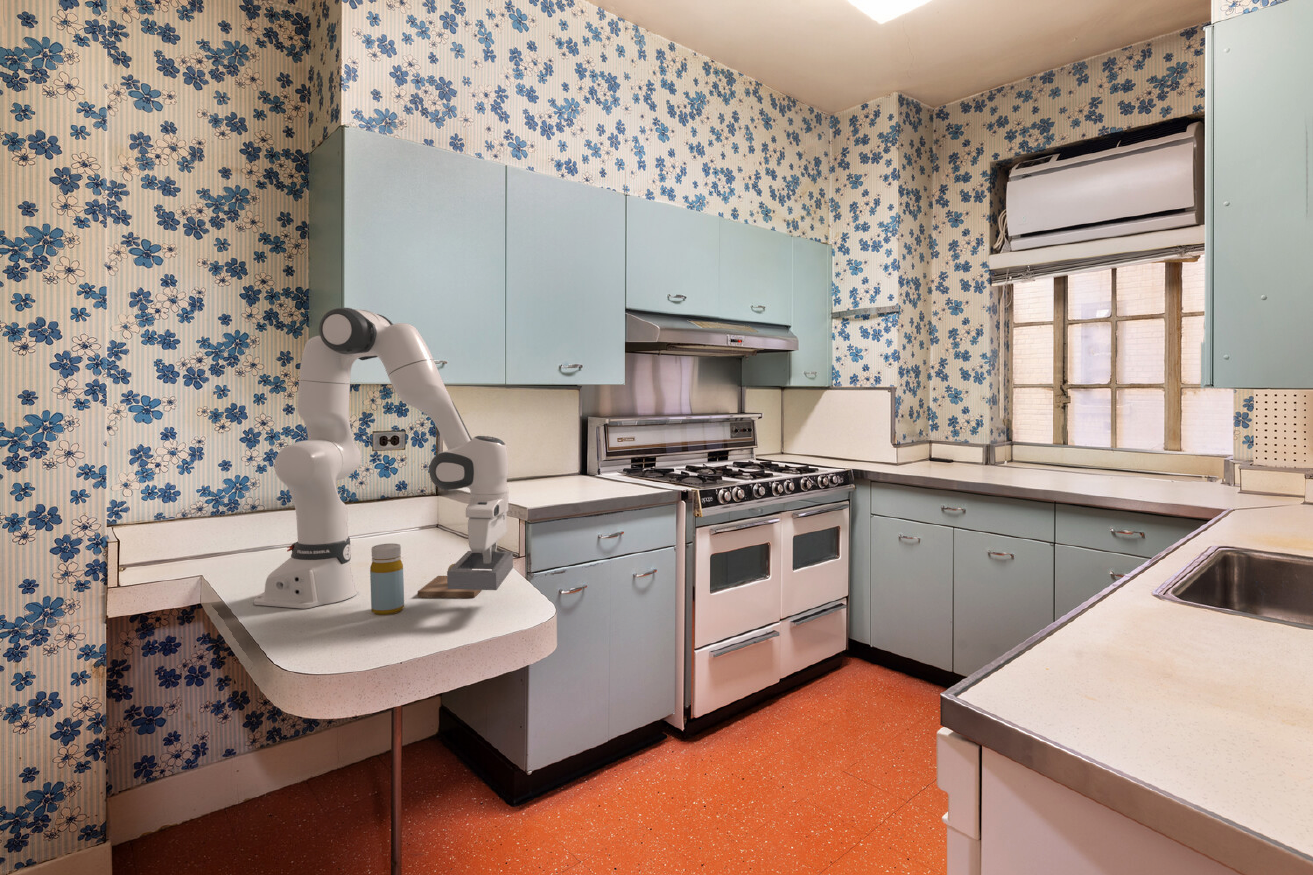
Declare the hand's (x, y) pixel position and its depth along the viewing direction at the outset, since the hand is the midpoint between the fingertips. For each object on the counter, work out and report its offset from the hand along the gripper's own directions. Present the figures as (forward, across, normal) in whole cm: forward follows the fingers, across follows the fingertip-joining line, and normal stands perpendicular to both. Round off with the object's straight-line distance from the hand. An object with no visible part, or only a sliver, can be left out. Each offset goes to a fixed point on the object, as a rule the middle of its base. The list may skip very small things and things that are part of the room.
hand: (489, 561), depth 157 cm
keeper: (+10, -9, -11) cm, 18 cm away
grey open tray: (+2, +6, 0) cm, 7 cm away
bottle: (+10, +8, -21) cm, 25 cm away
